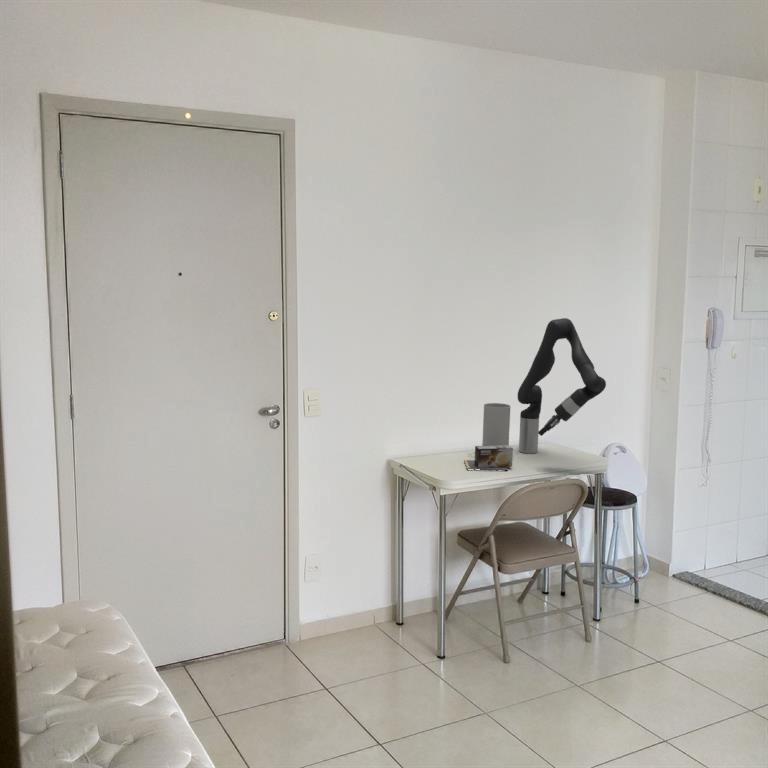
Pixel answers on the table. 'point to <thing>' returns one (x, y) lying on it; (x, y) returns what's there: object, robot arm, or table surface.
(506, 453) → the coffee box
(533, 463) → the table surface
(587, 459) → the table surface
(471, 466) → the mat
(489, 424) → the cylinder vase
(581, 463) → the table surface
